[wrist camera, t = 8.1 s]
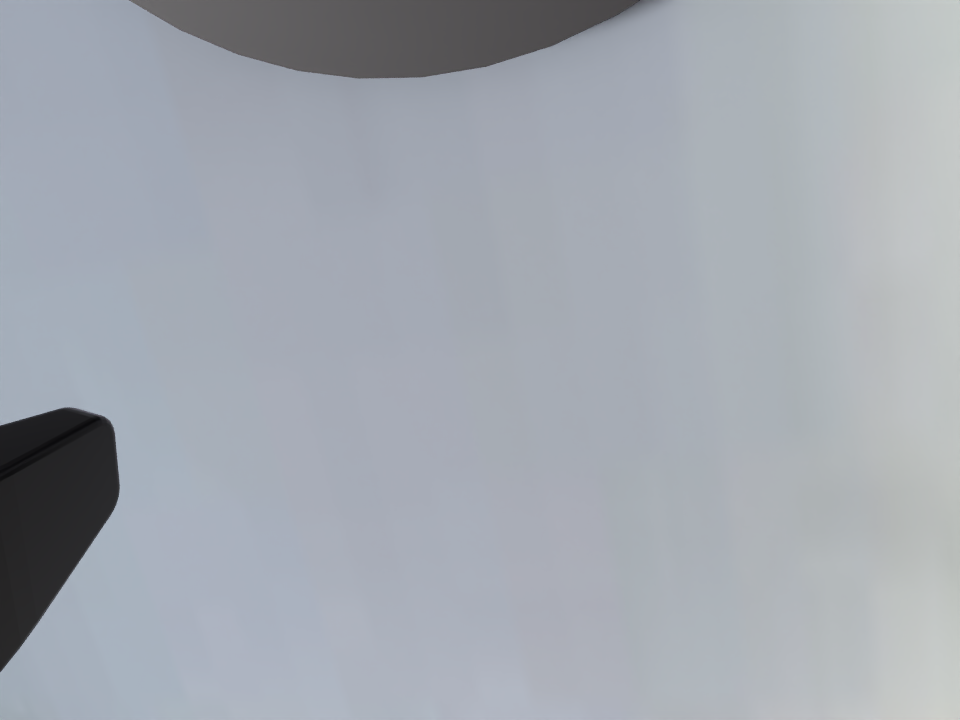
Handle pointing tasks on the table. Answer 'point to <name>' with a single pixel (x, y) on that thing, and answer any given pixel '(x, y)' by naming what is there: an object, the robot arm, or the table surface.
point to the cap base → (383, 31)
